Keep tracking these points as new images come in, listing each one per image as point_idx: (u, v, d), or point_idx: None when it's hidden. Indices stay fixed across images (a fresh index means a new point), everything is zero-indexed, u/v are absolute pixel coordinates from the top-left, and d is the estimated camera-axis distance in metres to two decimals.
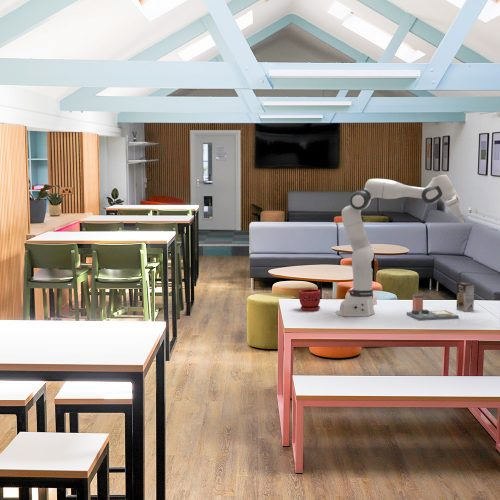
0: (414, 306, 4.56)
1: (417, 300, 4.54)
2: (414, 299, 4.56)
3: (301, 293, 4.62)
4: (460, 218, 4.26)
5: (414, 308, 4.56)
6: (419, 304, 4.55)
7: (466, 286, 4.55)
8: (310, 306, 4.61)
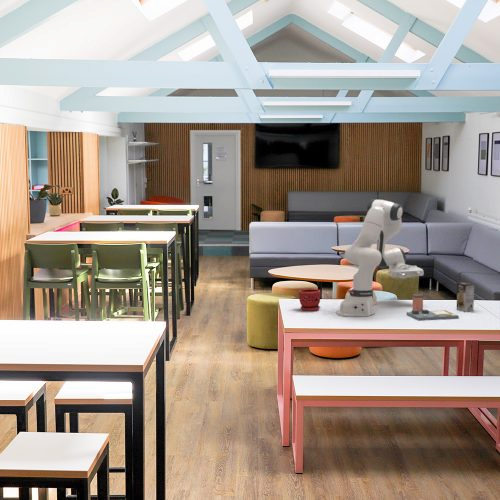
0: (414, 306, 4.56)
1: (417, 300, 4.54)
2: (414, 299, 4.56)
3: (301, 293, 4.62)
4: None
5: (414, 308, 4.56)
6: (419, 304, 4.55)
7: (466, 286, 4.55)
8: (310, 306, 4.61)
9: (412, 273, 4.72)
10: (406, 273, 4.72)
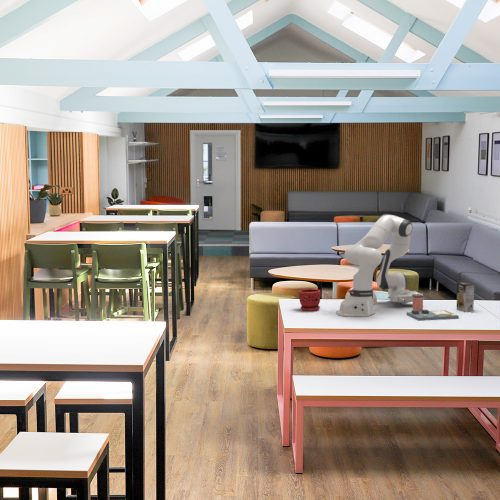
0: (414, 306, 4.56)
1: (417, 300, 4.54)
2: (414, 299, 4.56)
3: (301, 293, 4.62)
4: None
5: (414, 308, 4.56)
6: (419, 304, 4.55)
7: (466, 286, 4.55)
8: (310, 306, 4.61)
9: (412, 298, 4.72)
10: (406, 298, 4.71)
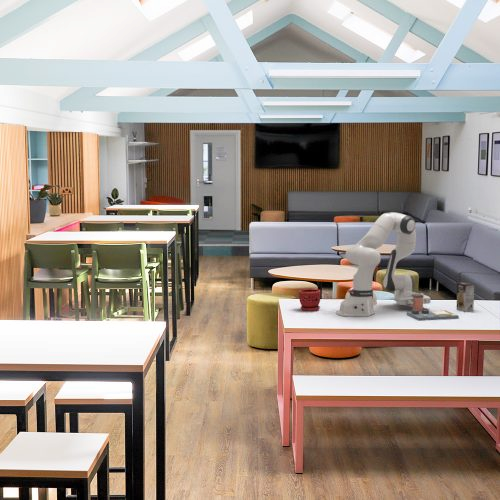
0: (414, 306, 4.56)
1: (417, 300, 4.54)
2: (414, 299, 4.56)
3: (301, 293, 4.62)
4: (423, 301, 4.60)
5: (414, 308, 4.56)
6: (419, 304, 4.55)
7: (466, 286, 4.55)
8: (310, 306, 4.61)
9: None
10: (413, 301, 4.61)
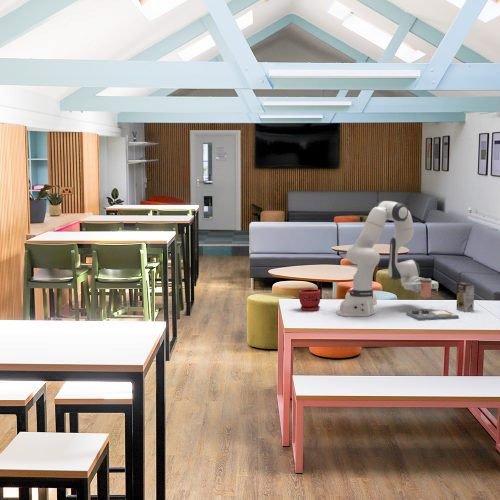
0: (422, 291, 4.51)
1: (425, 285, 4.50)
2: (422, 284, 4.51)
3: (301, 293, 4.62)
4: None
5: (422, 293, 4.51)
6: (427, 289, 4.50)
7: (466, 286, 4.55)
8: (310, 306, 4.61)
9: None
10: None
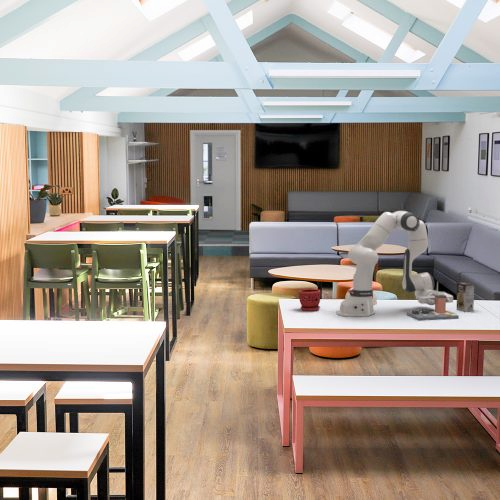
0: (437, 307, 4.44)
1: (440, 300, 4.43)
2: (437, 299, 4.44)
3: (301, 293, 4.62)
4: None
5: (437, 309, 4.45)
6: (442, 304, 4.43)
7: (466, 286, 4.55)
8: (310, 306, 4.61)
9: None
10: None
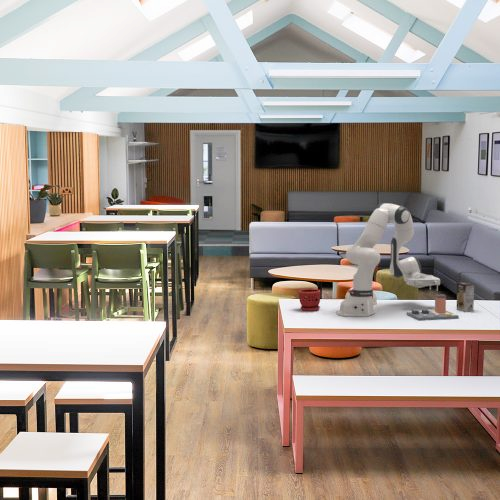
0: (437, 307, 4.44)
1: (440, 300, 4.43)
2: (437, 299, 4.44)
3: (301, 293, 4.62)
4: None
5: (437, 309, 4.45)
6: (442, 304, 4.43)
7: (466, 286, 4.55)
8: (310, 306, 4.61)
9: (429, 282, 4.65)
10: (423, 282, 4.64)
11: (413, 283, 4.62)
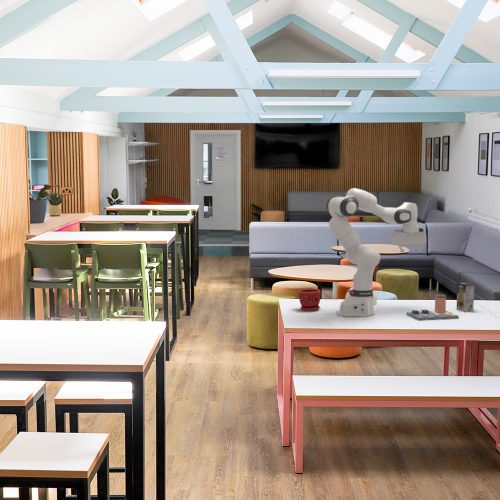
0: (437, 307, 4.44)
1: (440, 300, 4.43)
2: (437, 299, 4.44)
3: (301, 293, 4.62)
4: None
5: (437, 309, 4.45)
6: (442, 304, 4.43)
7: (466, 286, 4.55)
8: (310, 306, 4.61)
9: None
10: None
11: None
